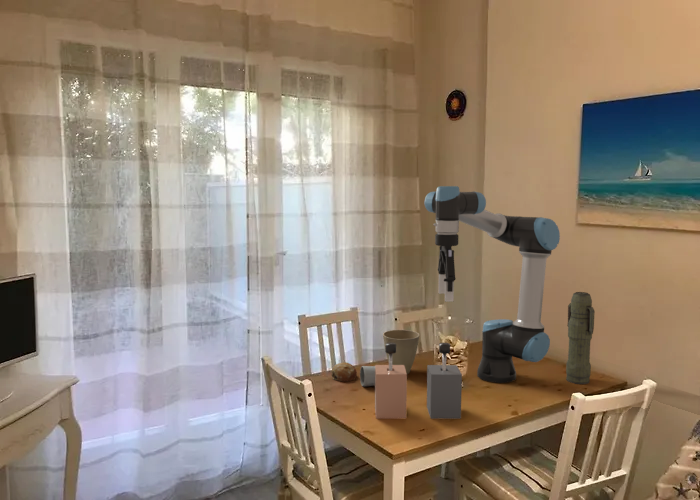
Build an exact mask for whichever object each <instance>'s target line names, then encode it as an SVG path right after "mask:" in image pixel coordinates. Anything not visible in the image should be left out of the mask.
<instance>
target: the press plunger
mask: <svg viewBox="0 0 700 500" xmlns="http://www.w3.org/2000/svg"><path fill="white" fill-rule="evenodd" d="M384 349H385V354H386V353H389V362H388V365H389V371H392V354H393V353H396V343H391V342H390V343H386V344H385V346H384Z"/></svg>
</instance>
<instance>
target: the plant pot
mask: <svg viewBox="0 0 700 500" xmlns="http://www.w3.org/2000/svg"><path fill="white" fill-rule="evenodd" d="M382 336H383V337H382V339H383V344H384V347H385V344H386V343H390V342H391V343H396V353H393V354H392V365H404V366H405V370H406V373H407V375H408V374H410V372H411V371H412V370H411V369H413V368H412V367H413V364H414V361H415V360H416V359H415V358H416V355H417V351H418V347H419V340H420V333H419V332H417V331H413V330H410V329H409V330H407V329H391V330H390V329H389V330H386V331H384V332H383V333H382ZM385 354H386V358H387V362H388V363H389V353H386V352H385Z"/></svg>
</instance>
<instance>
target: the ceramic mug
mask: <svg viewBox="0 0 700 500" xmlns="http://www.w3.org/2000/svg"><path fill="white" fill-rule="evenodd" d="M359 379H360V385H361V387H375V365H373V366H372V365H362V366H360V370H359Z"/></svg>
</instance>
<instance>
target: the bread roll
mask: <svg viewBox="0 0 700 500" xmlns="http://www.w3.org/2000/svg"><path fill="white" fill-rule="evenodd" d="M331 377H332V380H334V381H337V382H338V381H340V382H351V381H354V380H355V379H356V377H357V369H356V368H355V367H354V365H353V364H351V363H349V362H339V363H336V364H335V365H334V366H333V367H332V369H331Z"/></svg>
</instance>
